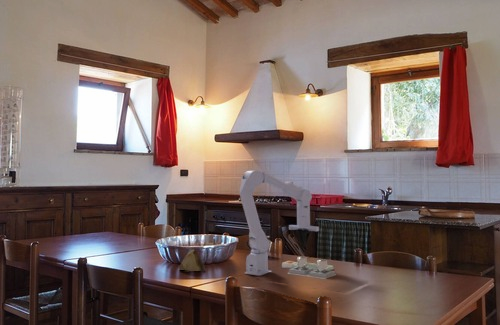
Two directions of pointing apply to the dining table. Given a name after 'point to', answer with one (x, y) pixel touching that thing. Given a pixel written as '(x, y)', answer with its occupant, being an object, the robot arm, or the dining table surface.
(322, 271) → the cylinder
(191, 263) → the rock
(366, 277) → the dining table surface
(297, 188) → the robot arm
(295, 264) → the tray
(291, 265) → the button housing
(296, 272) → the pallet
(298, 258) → the cylinder
